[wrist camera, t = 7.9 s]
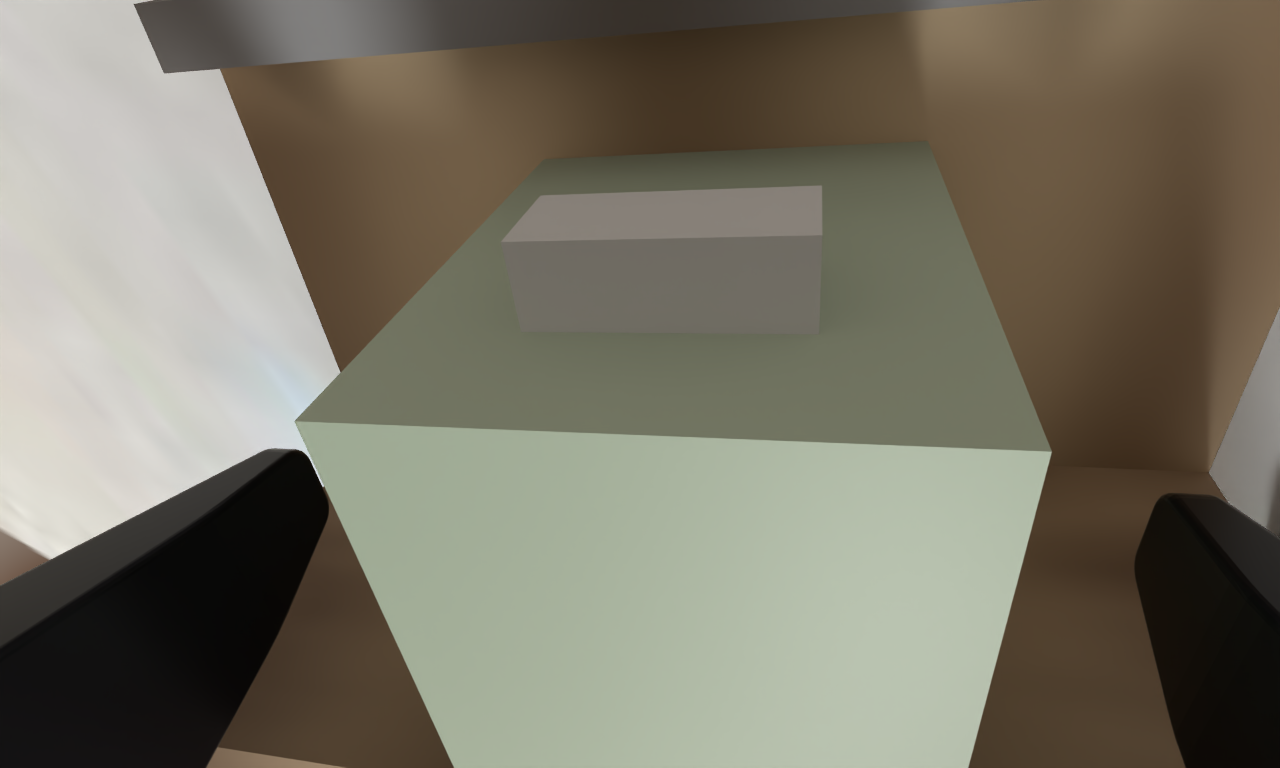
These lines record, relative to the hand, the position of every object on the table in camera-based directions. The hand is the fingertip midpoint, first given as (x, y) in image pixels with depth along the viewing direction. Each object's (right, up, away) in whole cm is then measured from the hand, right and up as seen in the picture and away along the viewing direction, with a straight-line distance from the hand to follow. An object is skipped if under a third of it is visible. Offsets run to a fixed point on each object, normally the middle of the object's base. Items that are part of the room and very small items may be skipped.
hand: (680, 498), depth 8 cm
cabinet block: (+1, +2, +3) cm, 4 cm away
